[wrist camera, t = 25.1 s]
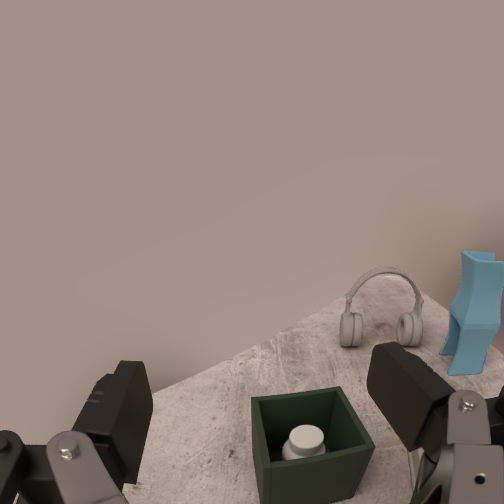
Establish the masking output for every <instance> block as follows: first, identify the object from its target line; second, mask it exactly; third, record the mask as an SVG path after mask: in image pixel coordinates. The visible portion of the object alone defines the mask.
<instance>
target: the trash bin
mask: <svg viewBox="0 0 504 504" xmlns="http://www.w3.org/2000/svg"><path fill="white" fill-rule="evenodd" d="M251 416H252V453H253V460H254V466H255V473H256V479H257V486H258V492H259V498H260V504H330V503H334V502H338V501H342V500H346V499H350V498H352V497H353V495H354V493H355V491H356V489H357V487H358V485H359V483H360V481H361V479H362V477H363V475H364V472H365V470H366V468H367V466H368V463H369V461H370V459H371V456H372V454H373V452H374V449H375V445H374V443H373V441H372V439H371V438H370V436H369V434H368V433H367V431H366V429H365V428H364V426H363V424H362V422H361V421H360V419H359V417H358V416H357V414H356V412H355V411H354V409H353V407H352V406H351V404H350V402H349V400H348V399H347V397H346V395H345V394H344V392H343V390H342V389H341V387H340V386H338V387H332V388H326V389H319V390H313V391H306V392H298V393H290V394H281V395H271V396H260V397H251ZM301 425H312V426H315V427H317V428H319V429H320V430H321V431H322V432H323V435H324V439H323V444H324V445H325V454H321V455H315V456H310V457H304V458H298V459H291V460H284V461H281V457H282V449H283V446H284V444H285V442H286V441H287V440H288V439H289V436H290V433H291V431H292V430H293V429H294V428H296V427H298V426H301Z"/></svg>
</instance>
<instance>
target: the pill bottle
mask: <svg viewBox="0 0 504 504" xmlns="http://www.w3.org/2000/svg"><path fill="white" fill-rule="evenodd" d="M323 439H324V435H323V432H322V431H321V430H320V429H319V428H317V427H315V426H312V425H301V426H298V427H296V428H294V429H293V430H292V431H291V433H290V436H289V439H288V440H287V441H286V442H285V444H284V446H283V449H282V457H281V461H284V460H291V459H298V458H304V457H310V456H315V455H321V454H325V445H324V444H323Z"/></svg>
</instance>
